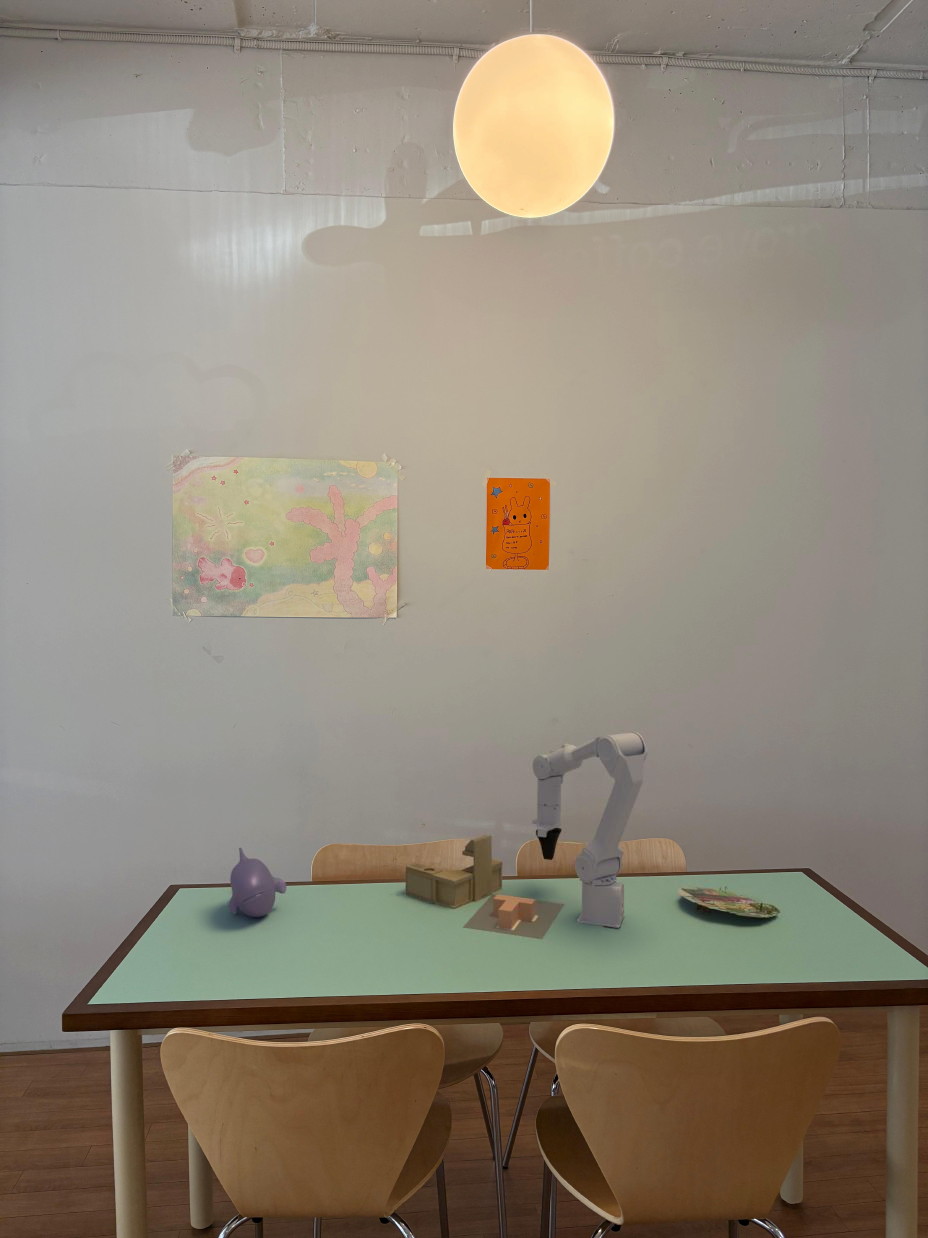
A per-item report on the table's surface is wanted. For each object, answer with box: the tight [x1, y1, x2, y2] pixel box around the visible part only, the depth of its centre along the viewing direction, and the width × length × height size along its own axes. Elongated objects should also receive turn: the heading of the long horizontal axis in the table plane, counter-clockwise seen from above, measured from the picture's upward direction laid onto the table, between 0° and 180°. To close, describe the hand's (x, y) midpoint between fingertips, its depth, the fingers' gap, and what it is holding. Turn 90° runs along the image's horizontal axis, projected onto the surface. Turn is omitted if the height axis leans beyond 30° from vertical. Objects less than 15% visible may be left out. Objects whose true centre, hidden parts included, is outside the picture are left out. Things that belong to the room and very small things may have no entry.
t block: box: [493, 894, 536, 929], centre depth 187 cm, size 9×9×4 cm
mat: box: [462, 893, 565, 940], centre depth 190 cm, size 18×22×1 cm
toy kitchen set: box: [405, 834, 503, 910], centre depth 206 cm, size 18×17×15 cm
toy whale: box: [228, 847, 287, 918], centre depth 193 cm, size 14×25×16 cm, turn 12°
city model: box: [676, 884, 781, 918], centre depth 197 cm, size 25×23×6 cm
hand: (548, 859), depth 203 cm, fingers closed
